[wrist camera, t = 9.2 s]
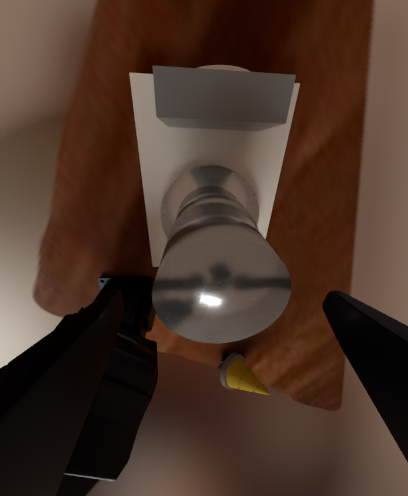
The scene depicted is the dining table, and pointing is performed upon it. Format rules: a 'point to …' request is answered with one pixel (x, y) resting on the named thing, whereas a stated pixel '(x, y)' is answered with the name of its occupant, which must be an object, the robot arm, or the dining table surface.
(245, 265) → the silver flared knob
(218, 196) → the silver round piece
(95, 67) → the dining table surface
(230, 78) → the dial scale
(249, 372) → the yellow spiral cone
